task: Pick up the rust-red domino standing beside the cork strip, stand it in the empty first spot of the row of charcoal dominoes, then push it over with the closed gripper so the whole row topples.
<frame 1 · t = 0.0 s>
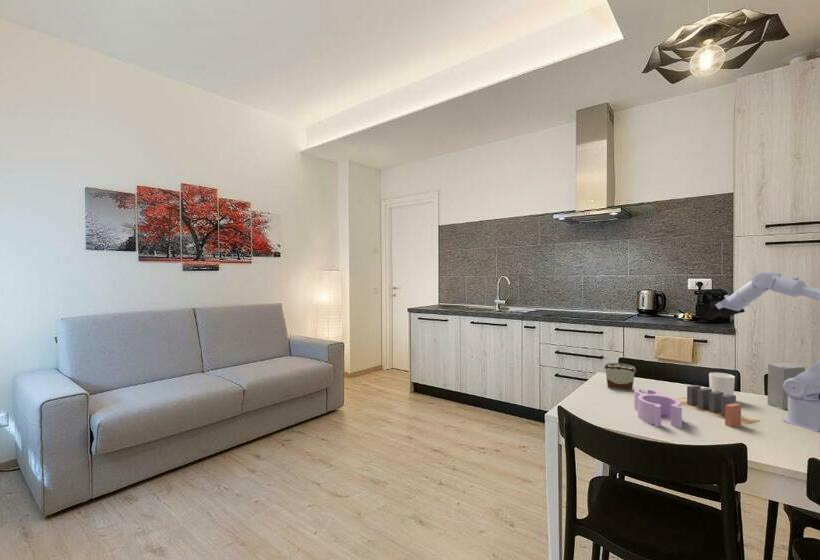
hand: (714, 317, 155), 32 cm above the table, tool tilted 50°, fingers open, 7 cm apart
clip: (655, 417, 138), on the table
domino 2: (728, 415, 137), resting on cork strip
cork strip: (710, 410, 142), on the table
domino 4: (704, 408, 144), resting on cork strip
domino 3: (716, 411, 141), resting on cork strip
skincare box: (785, 407, 145), on the table
domino 5: (693, 404, 148), resting on cork strip
white cup: (721, 401, 153), on the table
food container: (620, 387, 172), on the table
rust domino: (732, 426, 129), on the table
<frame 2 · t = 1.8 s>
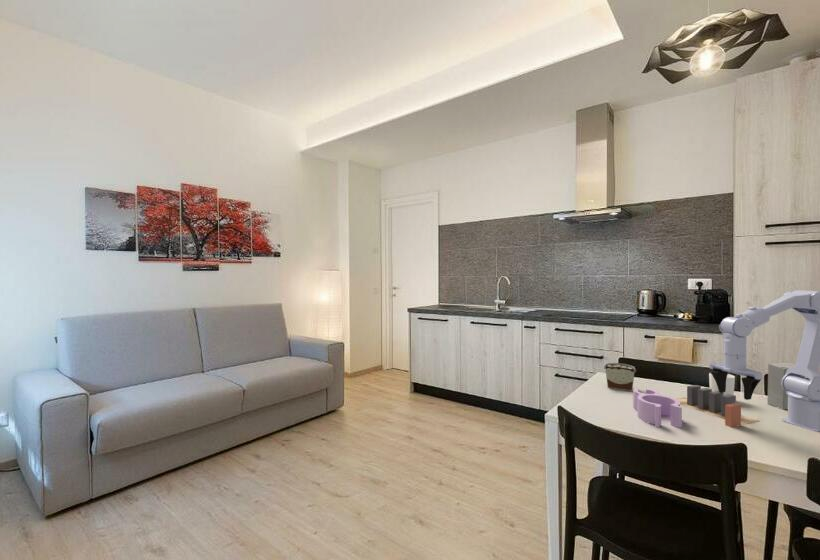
hand: (734, 395, 129), 10 cm above the table, tool pointing down, fingers open, 7 cm apart
nothing on the table moved.
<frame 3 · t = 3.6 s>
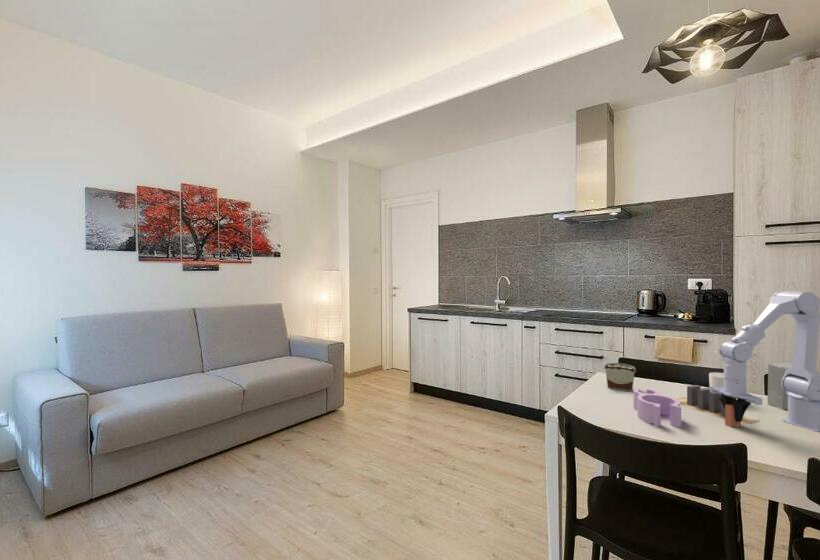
hand: (734, 419, 129), 2 cm above the table, tool pointing down, fingers closed on rust domino, 2 cm apart
rust domino: (732, 425, 129), on the table, touching gripper
everything else where it was.
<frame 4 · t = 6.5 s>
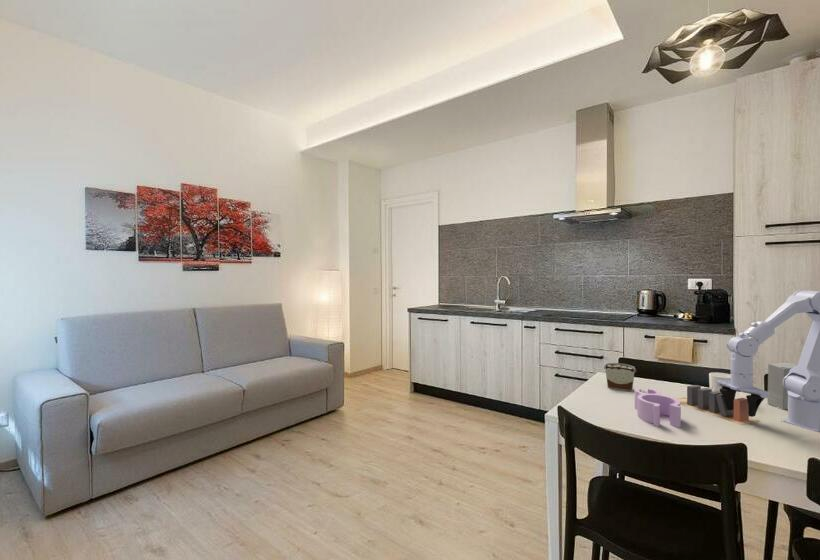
hand: (741, 412, 133), 3 cm above the table, tool pointing down, fingers open, 6 cm apart
domino 2: (728, 414, 137), point 1 cm above the table, tilted 15°, touching cork strip
rust domino: (741, 419, 133), resting on cork strip
everything else where it was.
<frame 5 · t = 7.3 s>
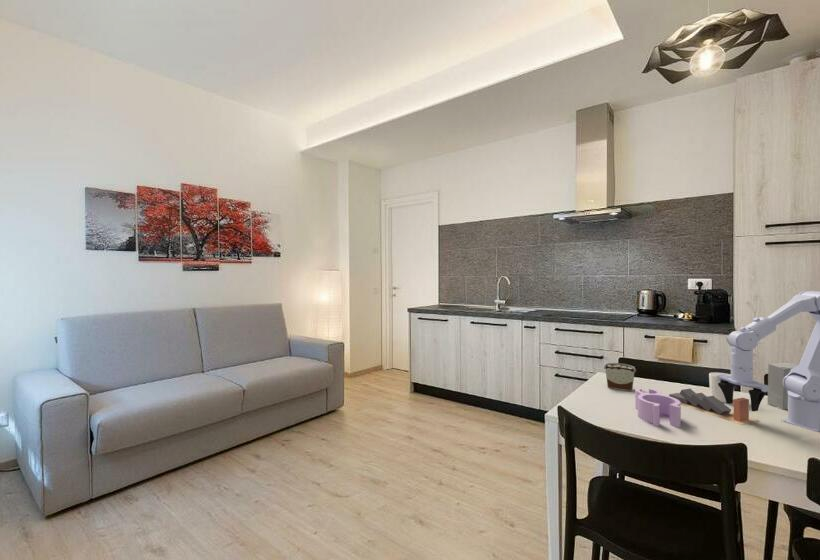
hand: (741, 407, 133), 5 cm above the table, tool pointing down, fingers open, 7 cm apart
domino 2: (725, 412, 138), point 1 cm above the table, tilted 63°, touching cork strip, domino 3
domino 4: (701, 404, 146), point 1 cm above the table, tilted 61°, touching cork strip, domino 3, domino 5
domino 3: (713, 408, 141), point 1 cm above the table, tilted 64°, touching cork strip, domino 2, domino 4
domino 5: (691, 401, 149), point 1 cm above the table, tilted 90°, touching cork strip, domino 4
everything else where it was.
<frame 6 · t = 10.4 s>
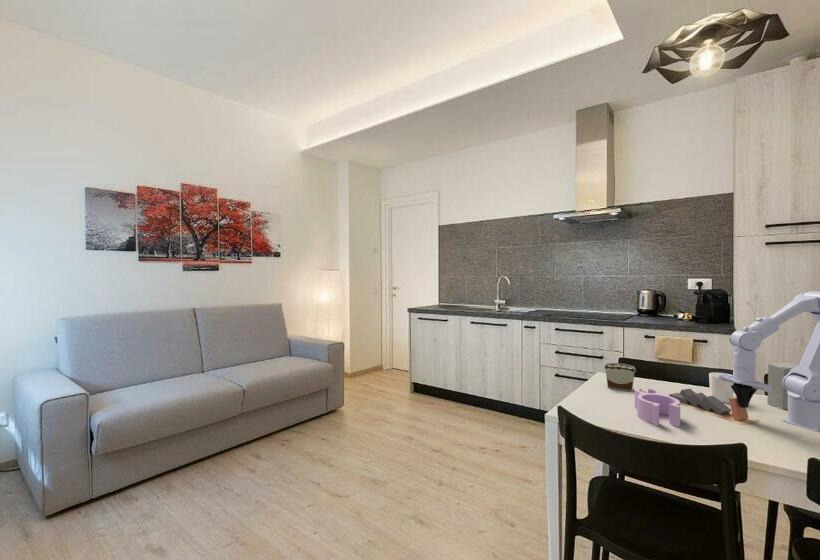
hand: (743, 407, 132), 5 cm above the table, tool pointing down, fingers closed
rust domino: (741, 419, 133), resting on cork strip, tilted 13°, touching gripper
everything else where it was.
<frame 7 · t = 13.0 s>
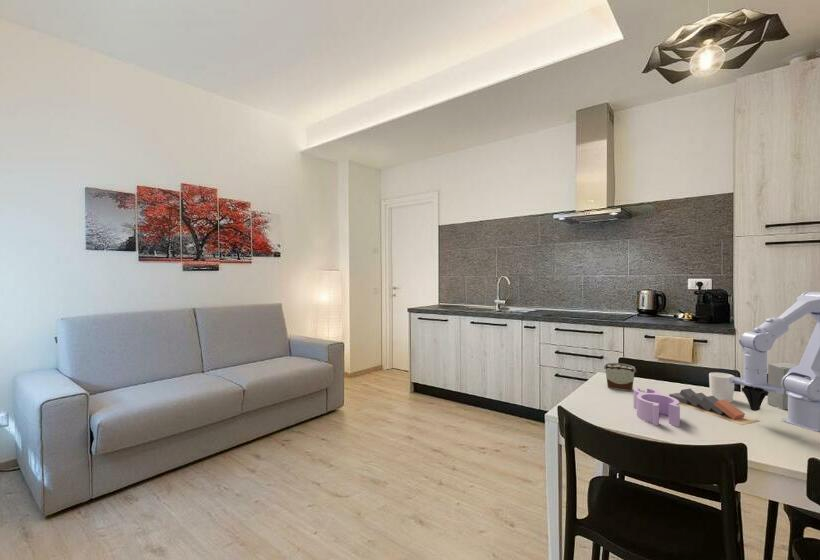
hand: (754, 410, 129), 5 cm above the table, tool pointing down, fingers closed
domino 2: (725, 412, 138), point 1 cm above the table, tilted 63°, touching cork strip, domino 3, rust domino
rust domino: (739, 416, 133), point 1 cm above the table, tilted 64°, touching cork strip, domino 2
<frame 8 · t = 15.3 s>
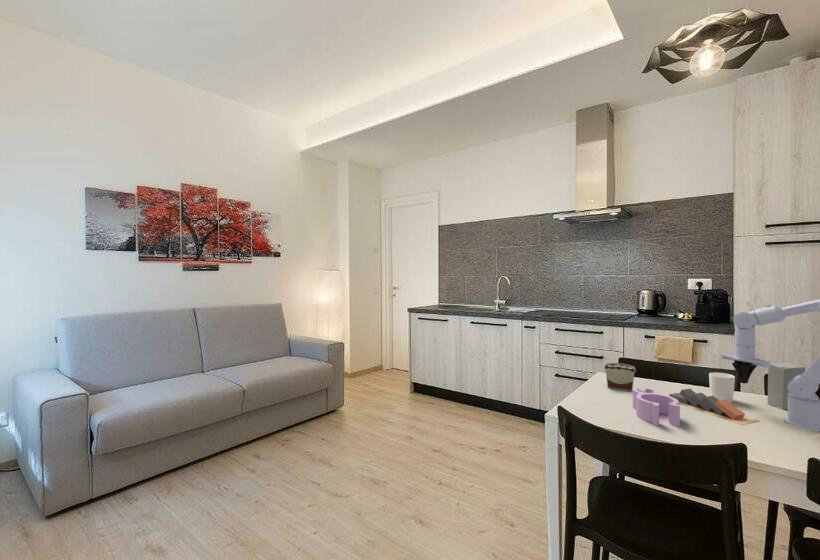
hand: (743, 382, 141), 10 cm above the table, tool pointing down, fingers closed
at the end: domino 5 tilted 90°; rust domino tilted 64°; rust domino inside the target area (1.0 cm from its centre), point 1.1 cm above the table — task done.
